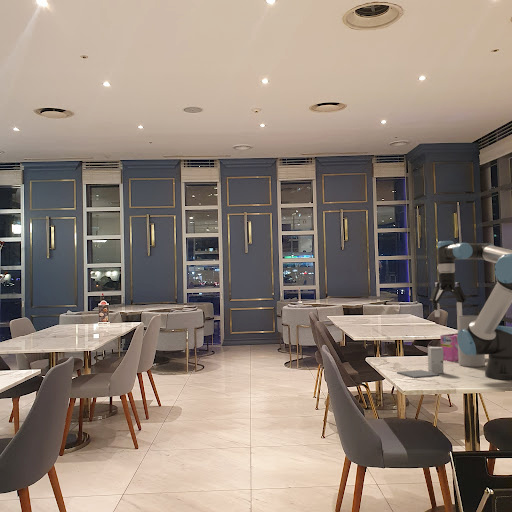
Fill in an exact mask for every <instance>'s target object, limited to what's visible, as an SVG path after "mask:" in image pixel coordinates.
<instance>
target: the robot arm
mask: <svg viewBox="0 0 512 512" xmlns="http://www.w3.org/2000/svg"><path fill="white" fill-rule="evenodd" d="M436 249H437V262H438V263H437V264H438V272H439V273H438V280H439V282H434V284H433V289H432V292H431V295H430V298H429V299H428V300H429V302H430V303H431V304H432V306H433V307H432V309H433V310H434V318H440V317H441V315H440V314H441V313H440V312H441V309H440V308H441V307H440V303H439V301H440V300H441V298H442V297H443V295H444V294H445V293H448V292H450V293H451V294H452V296H453V298H455V300H456V301H457V302H456V317H457V316H463V308H464V305H463V304H464V303H465V302H466V301H467V298H466V296H465V294H464V291H463V289H462V287H461V282H459V281H458V282H456V273H455V271H456V267H455V266H456V265H455V264H456V263H455V260H483V261H487V262H490V263H494V269H495V270H494V275H495V281H496V284H495V285H494V288H493V289H492V291H491V292H490V295H489V296H488V298H487V300H486V301H485V303H484V305H483V307H482V308H481V310H480V312H479V314H478V315H477V316H478V318H477V319H476V320H475V321H472V322H471V323H470V324H469V326H468V328H467V329H462V330H460V331H459V332H458V331H457V333H458V335H457V341H458V345H459V348H460V350H461V351H462V352H463V353H464V354H466V355H473V356H475V355H485V356H486V355H488V360H487V362H486V363H487V364H486V367H485V370H484V376H485V377H487V378H490V379H494V380H506V381H507V380H509V381H510V380H512V326H506V325H505V326H504V325H499V324H500V323H501V321H502V319H503V318H504V316H505V315H506V313H507V311H508V310H509V308H510V306H511V304H512V249H508V248H503V247H500V246H496V245H494V244H493V243H487V242H483V243H468V242H458V243H454V241H452V240H441V241H438V242H437V248H436Z"/></svg>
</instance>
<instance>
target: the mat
mask: <svg viewBox="0 0 512 512" xmlns="http://www.w3.org/2000/svg"><path fill="white" fill-rule="evenodd" d="M396 374H398V375H402V376H406V377H409V378H413V379H418V378H428V377H430V378H431V377H439V376H440V373H432V372H428V370H423V369H417V370H406V371H397V372H396Z"/></svg>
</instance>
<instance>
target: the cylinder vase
mask: <svg viewBox="0 0 512 512" xmlns="http://www.w3.org/2000/svg"><path fill="white" fill-rule="evenodd" d="M478 316H479V315H462V316H457V315H456V317H457V318H456V321H457V324H456V325H457V333H458V332H459V331H460V330H462V329H467V328H468V326H469V324H470V323H471V322H472V321H475V320H476V319H477V318H478ZM458 358H459V361H458V364H459V366H462V367H466V368H467V367H468V368H480V367H484V366H485V365H486V355H475V356H473V355H466V354H464V353H463V352H462V351H461V350H460V348H459V345H458Z"/></svg>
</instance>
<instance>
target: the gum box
mask: <svg viewBox="0 0 512 512" xmlns="http://www.w3.org/2000/svg"><path fill="white" fill-rule="evenodd" d="M457 335H458V332H456V333H448V334H441V335H440V347H442V348H443V361H446V360H447V361H446V362H459V361H458V360H459V358H458V341H457Z"/></svg>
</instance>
